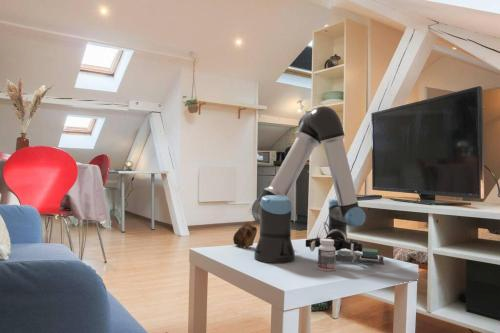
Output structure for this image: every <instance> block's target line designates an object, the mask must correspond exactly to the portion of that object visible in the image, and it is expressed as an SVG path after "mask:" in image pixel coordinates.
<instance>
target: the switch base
mask: <svg viewBox="0 0 500 333" xmlns="http://www.w3.org/2000/svg"><path fill="white" fill-rule="evenodd" d="M384 260H385V259H384V255H378V260H377V259H366V258H361V253H356V254H355V263H359V264H360V263H362V264H371V265H383V266H384V265H385V261H384Z"/></svg>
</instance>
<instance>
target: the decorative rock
mask: <svg viewBox="0 0 500 333" xmlns="http://www.w3.org/2000/svg"><path fill="white" fill-rule="evenodd" d="M257 232H258V228H257V227H256V226H254V225H253V224H251V222H250V221H249V222H248V221H247V222H245V223H244V224H243V225H242V226H241V227H239V229H237V231H236V232H235V233H234V235H233V238H232V240H233V244H234V245H236V246H238V247H240V246H241V247H243V248H249V247H252V246H253V245H254V242H255V238H256V236H257Z"/></svg>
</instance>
